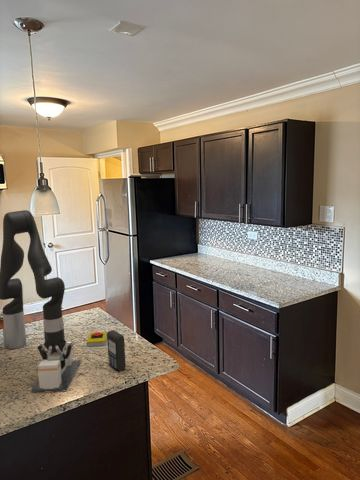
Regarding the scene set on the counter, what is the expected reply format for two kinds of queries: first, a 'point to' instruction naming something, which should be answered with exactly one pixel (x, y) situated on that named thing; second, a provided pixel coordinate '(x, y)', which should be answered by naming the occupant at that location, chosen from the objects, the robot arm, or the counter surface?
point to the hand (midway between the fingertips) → (57, 368)
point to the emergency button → (97, 340)
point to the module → (55, 358)
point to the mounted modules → (52, 371)
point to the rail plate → (66, 378)
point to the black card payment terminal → (116, 350)
